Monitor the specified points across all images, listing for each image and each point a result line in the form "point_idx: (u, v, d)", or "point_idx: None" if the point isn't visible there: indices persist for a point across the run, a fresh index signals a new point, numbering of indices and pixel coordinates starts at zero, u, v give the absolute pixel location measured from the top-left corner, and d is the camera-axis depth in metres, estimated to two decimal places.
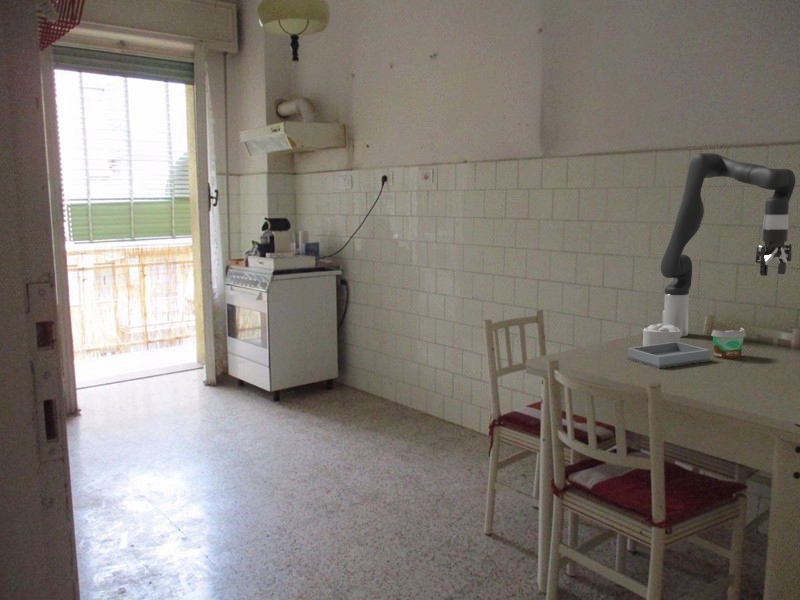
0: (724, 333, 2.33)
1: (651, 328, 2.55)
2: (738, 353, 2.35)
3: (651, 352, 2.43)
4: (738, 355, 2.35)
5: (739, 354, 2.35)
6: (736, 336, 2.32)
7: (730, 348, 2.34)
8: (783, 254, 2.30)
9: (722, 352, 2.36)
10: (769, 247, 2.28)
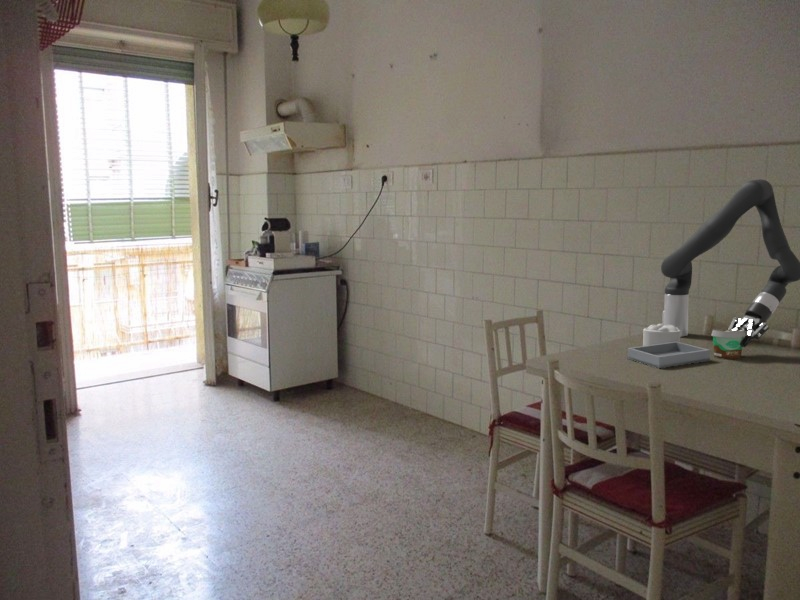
0: (724, 333, 2.33)
1: (651, 328, 2.55)
2: (738, 353, 2.35)
3: (651, 352, 2.43)
4: (738, 355, 2.35)
5: (739, 354, 2.35)
6: (736, 336, 2.32)
7: (730, 348, 2.34)
8: None
9: (722, 352, 2.36)
10: None
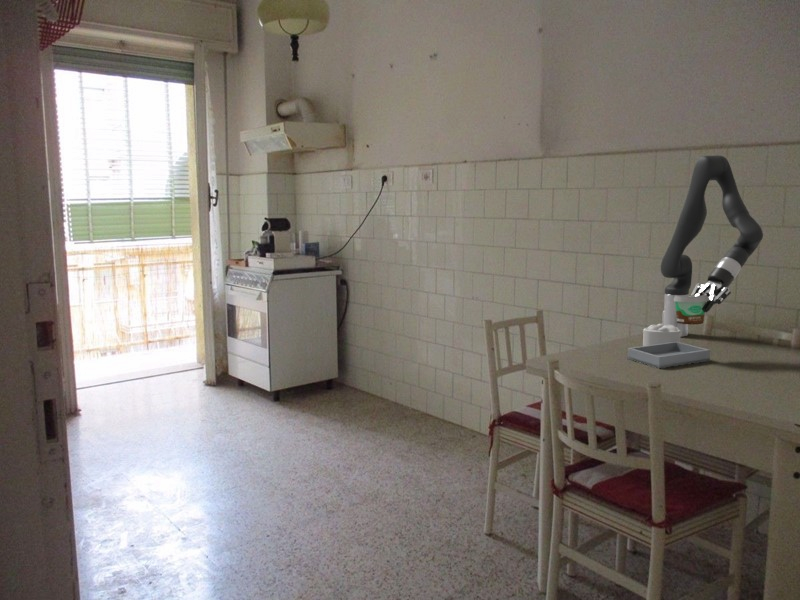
0: (686, 298, 2.31)
1: (651, 328, 2.55)
2: (700, 318, 2.33)
3: (651, 352, 2.43)
4: (700, 320, 2.33)
5: (701, 319, 2.33)
6: (698, 301, 2.30)
7: (692, 313, 2.32)
8: None
9: (684, 318, 2.34)
10: None
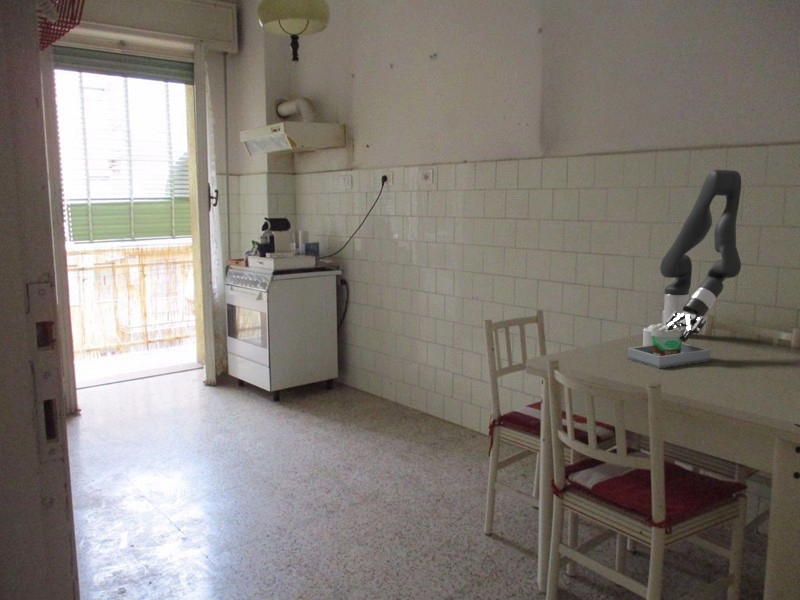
0: (662, 333, 2.33)
1: (651, 328, 2.55)
2: (677, 353, 2.34)
3: (651, 352, 2.43)
4: None
5: None
6: (674, 336, 2.32)
7: (668, 348, 2.34)
8: None
9: (660, 352, 2.35)
10: None
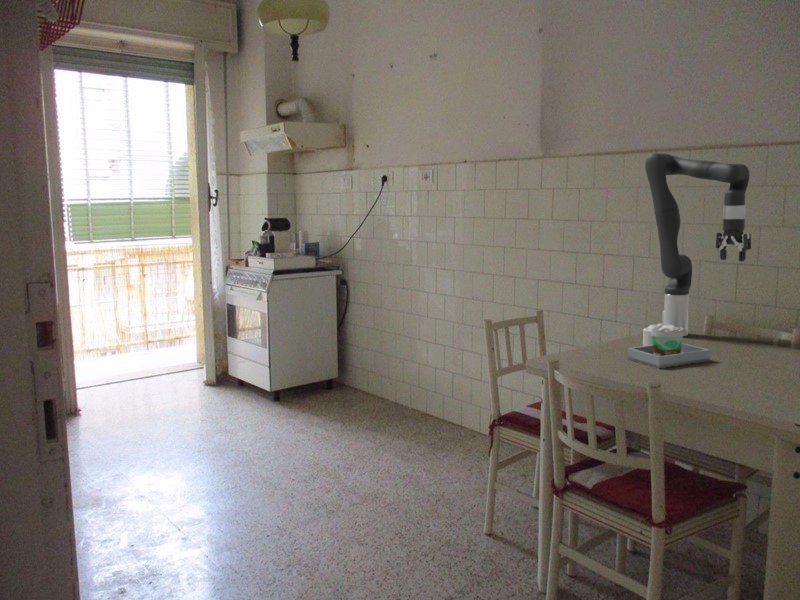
0: (662, 333, 2.33)
1: (651, 328, 2.55)
2: (677, 353, 2.34)
3: (651, 352, 2.43)
4: None
5: None
6: (674, 336, 2.32)
7: (668, 348, 2.34)
8: None
9: (660, 352, 2.35)
10: None
